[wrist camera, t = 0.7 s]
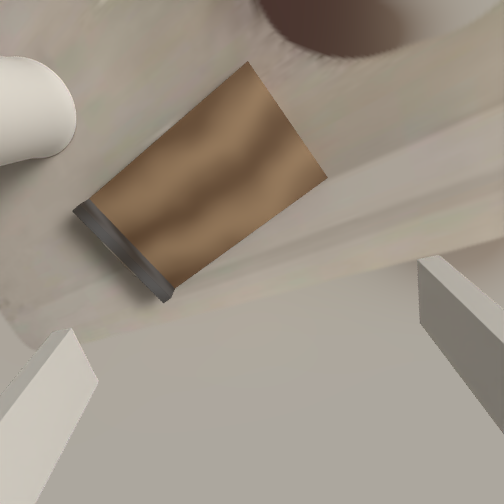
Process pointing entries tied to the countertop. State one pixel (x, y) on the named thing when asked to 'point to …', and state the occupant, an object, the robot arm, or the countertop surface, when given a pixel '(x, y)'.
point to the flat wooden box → (203, 185)
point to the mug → (33, 111)
